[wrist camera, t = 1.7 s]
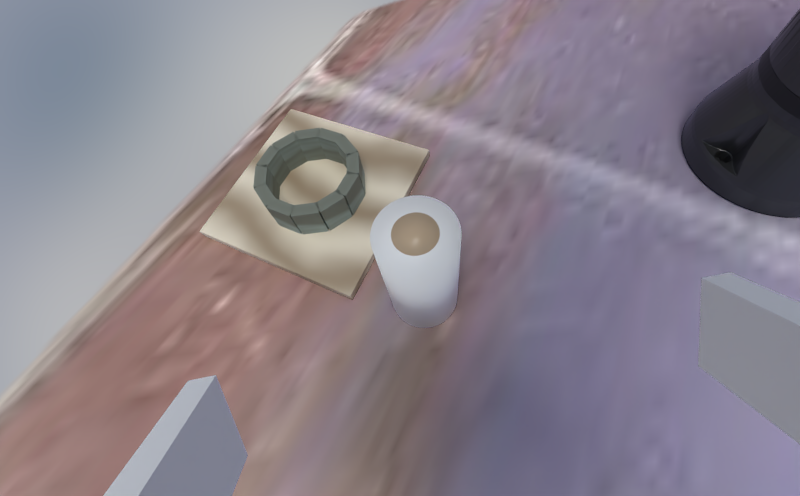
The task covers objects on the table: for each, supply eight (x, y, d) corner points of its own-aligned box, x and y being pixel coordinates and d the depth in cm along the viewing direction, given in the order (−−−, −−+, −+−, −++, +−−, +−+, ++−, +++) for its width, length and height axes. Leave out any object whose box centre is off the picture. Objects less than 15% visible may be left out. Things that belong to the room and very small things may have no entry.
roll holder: (293, 115, 49) (280, 85, 45) (429, 156, 44) (427, 126, 40) (204, 235, 43) (179, 213, 38) (352, 300, 38) (341, 282, 34)
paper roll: (408, 257, 39) (393, 184, 28) (467, 279, 37) (475, 211, 27) (381, 312, 37) (353, 255, 26) (442, 338, 35) (439, 290, 24)
